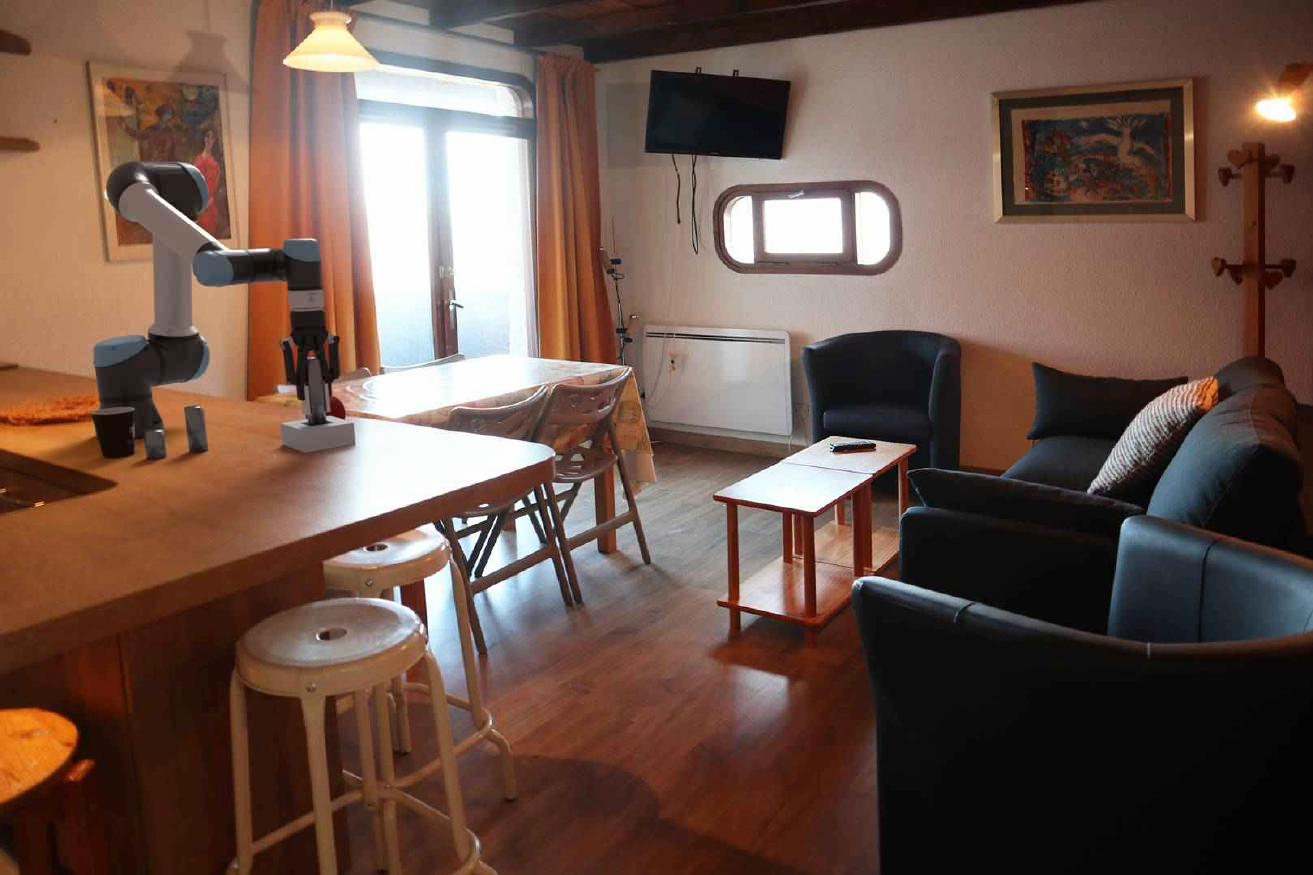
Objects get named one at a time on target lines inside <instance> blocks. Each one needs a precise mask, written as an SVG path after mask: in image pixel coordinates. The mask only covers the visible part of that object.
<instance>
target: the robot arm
mask: <svg viewBox="0 0 1313 875" xmlns="http://www.w3.org/2000/svg"><path fill="white" fill-rule="evenodd" d="M105 189H106V190H105V191H106V197H107V199H108V202H109V204H110V205H111V206H112V208H113V209H114V210H115V211H116V212H117V213H118V214H119V215H121V217H123V218H125V219H126V220H128V221H130V222H137V223H138V224H140V225H141V226H142V227H143V228H145V229H146V230H147V231H148V232H149V233H151V234H152V267H153V314H154V319H153V320H154V322H153V323H152V324H151V325H150V326H149V327H148V328H147V338H146V336H144V335H143V334H128V335H122V336H116V337H112V338H111V337H110V338H106V339H104V340H102V341H99V342H98V343H97V344H95V345H94V347H93V365H94V370H95V377H96V379H95V380H96V385H97V393H98V401H99V408H98V410H100V409H107V408H117V407H131V408H134V409H135V439H139V438H140V439H141V438H144V431H146V430H152V429H163V430H164V431H165V423H164V420H163V418H162V415H161V414H160V412H159V410H158V407H157V405H156V404H155V402H154V396H153V388H154V387H160V386H166V385H167V386H168V385H172V384H178V383H180V384H183V383H187V382H189V381H194V380H197V379H200V378H201V377H202V375H204V374H205V373H206V371H207V369H208V368H209V364H210V358H211V356H210V354H211V353H210V348H209V346H208V345H207V344H208V342H207V341H206V339H205V338H204V337H203V336H202V335H201V334H200V330H199V329H198V328H197V326H195V325H194V323H193V281H192V280H193V279H192V277H193V276H195V278H196V281H197V282H198V283H199V284H200V285H201V286H203V287H216V288H222V287H229V286H237V285H247V284H249V285H250V284H252V285H253V284H263V283H274V282H275V283H276V282H277V283H278V282H279V283H281V282H282V283H283V282H284V283H286V286H287V288H286V289H287V290H286V291H287V298H288V308H289V309H291V310H290V312H289V319H290V320H289V322H290V328H291V330H290V334H289V337H288V338H286V339H284V340H283V339H280V340H279V342H278V344H279V346H280V348H281V350H282V355H283V361H284V370H285V377H286V382H287V384H290V385H294V386H295V388H296V398H297V400H298V401H301V413H302V415H311V412H310V401H309V390H308V386H305V375H306V365H307V358H309V355H310V354H309V353H310V352H313V354H314V355H315V357H317V358H321V364H322V376H323V387H324V399H325V410H326V412H330V402H329V397H330V396H333V388H332V384H333V383H334V381H335V380H338V379H339V378H340V369H339V368H340V367H339V364H340V362H339V342H340V340H341V337H340V336H339V335H334V334H331V333H329V331H328V330H327V320H326V310H324V309H323V308H324V307H325V297H324V288H323V273H322V261H321V260H322V257H321V252H320V251H321V250H320V245H319V241H318V240H317V239H316V238H289V239H285V240H283V242H282V244H283V245H282V246H283V248H281V247H280V248H279V247H268V246H267V247H257V248H244V249H243V248H242V249H241V248H240V249H230V248H227V246H225V245H223V243H221V242H220V241H218V239H216V238H214V237H213V236H212V235H210V234H209V233H208V232H207V231H206V230H204V229H202V228H201V226H199V225H197V223H198V221H199V213H200V212H203V211H204V210H205V209H206V207H207V205H208V203H209V196H210V194H209V187H208V184H207V181H206V178H205V177H204V175H202V173H201V171H200V170H199V169H198V168H197V167H196V166H195V165H192V164H191V163H188V162H187V163H186V162H179V161H140V160H131V161H127V162H126V161H125V162H123V163H121V164H119V165H117V166H116V167H114V168H113V170H112V171H111V172H110V174H109V175H108V178H107V180H106V183H105ZM192 274H193V275H192ZM326 342H327V349H328V351H327V352H328V361H327V358H326V357H327V356H326V354H325V353H326V350H325V347H324V344H325V343H326ZM293 344H294V345H295V346H296V348H297V349H296V354H297V358H296V367H295V360H294V353H293V352H294V351H293V347H294V345H293ZM94 433H95V438H96V439H98V437H97V433H96V429H95V428H94Z"/></svg>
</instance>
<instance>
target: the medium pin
mask: <svg viewBox="0 0 1313 875" xmlns="http://www.w3.org/2000/svg"><path fill="white" fill-rule="evenodd" d="M204 406H205V405H200V404H197V405H189V406H185V407H183V408H184V410H183V411H184V418H185V419H184V420H185V427H186V435H187V445H188V452H189V453H192V454H200V453H205V452H209V443H208V435H207V434H208V433H207V427H206V418H205V417H206V416H205V407H204Z"/></svg>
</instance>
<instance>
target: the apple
mask: <svg viewBox="0 0 1313 875" xmlns="http://www.w3.org/2000/svg"><path fill="white" fill-rule="evenodd" d="M329 402H330V412H326V416H333V417H336V418H340V419H343V420H346V416H347V415H346V414H347V412H346V411H347V410H346V407H345V405H344V404H343V402H342V401H341V400H340V399H339V398H338V397H336V396H334V395H332V396H330V397H329ZM304 415H305V414H304ZM306 419H308V416H307V415H305V420H306Z"/></svg>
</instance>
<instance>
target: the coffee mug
mask: <svg viewBox="0 0 1313 875" xmlns="http://www.w3.org/2000/svg"><path fill="white" fill-rule="evenodd" d="M90 414H91V417H92V421H93V424H94V430H95V429H96V433H97V437H98V438H97V440H98V443H99V447H100V451H101V455H102V458H104V459H120V458H127V457H131V456H133V455H135V452H136V450H135V448H136V444H135V443H136V442H135V441H136V438H135V409H134V408H131V407H117V408H107V409H100V410H99V409H97V410H93V411H91V412H90Z"/></svg>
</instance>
